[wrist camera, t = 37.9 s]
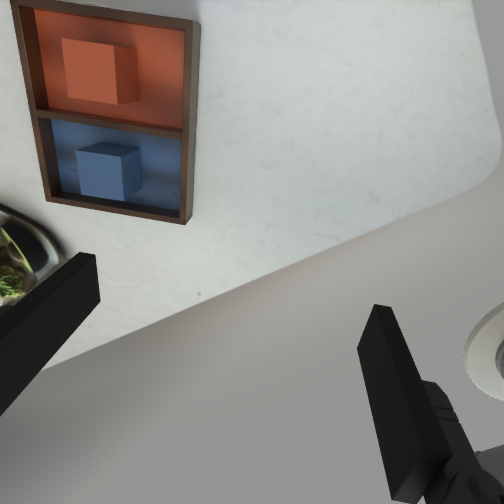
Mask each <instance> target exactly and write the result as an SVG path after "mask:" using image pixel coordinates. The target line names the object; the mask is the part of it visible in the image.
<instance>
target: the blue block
mask: <svg viewBox="0 0 504 504" xmlns="http://www.w3.org/2000/svg"><path fill="white" fill-rule="evenodd" d="M75 152H76V159H77V166H78V173H79V180H80V188H81V194H82V195H87V196H93V197H100V198H106V199H113V200H119V201H125V200H126V199H128V198H129V197H130V196H132V195H133V194H135V193H136V192H137V191H139V190H140V189H142V180H141V158H140V148H137V147H130V146H124V145H117V144H110V143H103V142H98V143H95V144H92V145H89V146H86V147H83V148H80V149H77V150H75Z"/></svg>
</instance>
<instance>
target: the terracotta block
mask: <svg viewBox="0 0 504 504" xmlns="http://www.w3.org/2000/svg"><path fill="white" fill-rule="evenodd" d="M61 42H62V50H63V58H64V66H65V74H66V82H67V90H68V97H71V98H77V99H83V100H89V101H96V102H102V103H108V104H115V105H119V104H126V103H132V102H138V73H137V50H136V49H132V48H126V47H121V46H115V45H109V44H102V43H96V42H89V41H82V40H76V39H69V38H63V37H61Z"/></svg>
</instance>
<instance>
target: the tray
mask: <svg viewBox="0 0 504 504" xmlns="http://www.w3.org/2000/svg"><path fill="white" fill-rule="evenodd" d="M10 4H11V10H12V15H13V21H14V27H15V32H16V38H17V43H18V49H19V54H20V60H21V65H22V71H23V76H24V82H25V87H26V93H27V98H28V104H29V110H30V115H31V121H32V126H33V132H34V137H35V143H36V148H37V154H38V159H39V165H40V170H41V176H42V181H43V187H44V193H45V198H46V201H47V202H53V203H59V204H65V205H71V206H76V207H82V208H88V209H94V210H100V211H106V212H111V213H117V214H123V215H129V216H135V217H141V218H146V219H152V220H158V221H164V222H170V223H176V224H181V225H186V224H187V222H188V221H189V220H190V218H191V217H192V206H193V185H194V164H195V143H196V122H197V100H198V79H199V58H200V37H201V25H200V24H198V23H196V22H194V21H192V20H185V19H178V18H172V17H165V16H158V15H151V14H144V13H137V12H131V11H124V10H117V9H110V8H103V7H97V6H90V5H83V4H76V3H69V2H62V1H56V0H10ZM61 37H63V38H69V39H76V40H82V41H89V42H96V43H102V44H109V45H115V46H121V47H126V48H132V49H136V50H137V73H138V102H132V103H126V104H119V105H115V104H108V103H102V102H96V101H89V100H83V99H77V98H71V97H68V90H67V82H66V74H65V66H64V58H63V50H62V42H61ZM98 142H103V143H110V144H117V145H124V146H130V147H137V148H140V158H141V180H142V189H140V190H139V191H137V192H136V193H135V194H133V195H132V196H130V197H129V198H128V199H126V200H125V201H119V200H113V199H106V198H100V197H93V196H87V195H82V194H81V188H80V180H79V173H78V166H77V159H76V152H75V150H77V149H80V148H83V147H86V146H89V145H92V144H95V143H98Z"/></svg>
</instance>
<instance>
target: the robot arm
mask: <svg viewBox="0 0 504 504" xmlns="http://www.w3.org/2000/svg"><path fill="white" fill-rule="evenodd" d="M99 303H100V292H99V283H98V274H97V266H96V257H95V255H94V254H89V253H83V252H79V253H78V254H76V255H75V256H74V257H73V258H71V259H70V260H69V261H68V262H66V263H65V264H64V265H63V266H61V267H60V268H59V269H58V270H57V271H55V272H54V273H53V274H52V275H50V276H49V277H48V278H47V279H45V280H44V281H43V282H42V283H40V284H39V285H38V286H37V287H35V288H34V289H33V290H32V291H31V292H29V293H28V294H27V295H26V296H24V297H23V298H22V299H21V300H19V301H18V302H17V303H16V304H14V305H9V304H6V305H3V306H1V307H0V416H1V415H2V414H3V413H4V412H5V411H6V409H7V408H8V407H9V406H10V405H11V403H12V402H13V401H14V400H15V399H16V398H17V397H18V395H19V394H20V393H21V392H22V391H23V390H24V389H25V387H26V386H27V385H28V384H29V383H30V382H31V381H32V379H33V378H34V377H35V376H36V375H37V374H38V373H39V371H40V370H41V369H42V368H43V367H44V366H45V365H46V363H47V362H48V361H49V360H50V359H51V358H52V357H53V355H54V354H55V353H56V352H57V351H58V350H59V349H60V347H61V346H62V345H63V344H64V343H65V342H66V340H67V339H68V338H69V337H70V336H71V335H72V334H73V332H74V331H75V330H76V329H77V328H78V327H79V326H80V324H81V323H82V322H83V321H84V320H85V319H86V318H87V316H88V315H89V314H90V313H91V312H92V311H93V309H94V308H95V307H96V306H97V305H98V304H99ZM357 351H358V355H359V359H360V364H361V368H362V372H363V377H364V381H365V386H366V390H367V394H368V399H369V403H370V407H371V412H372V416H373V421H374V425H375V429H376V434H377V438H378V442H379V447H380V451H381V455H382V460H383V464H384V469H385V473H386V477H387V482H388V486H389V490H390V495H391V499H392V500H394V501H399V502H405V503H409V504H417V503H418V501H419V500H420V499H421V497H422V496H424V499H425V502H426V504H504V445H501V446H498V447H494V448H491V449H488V450H485V451H482V452H481V451H476V452H474V451H473V449H472V447H471V445H470V443H469V441H468V439H467V436H466V434H465V432H464V430H463V428H462V426H461V424H460V423H459V420H458V418H457V416H456V413H455V412H454V411H453V407H452V405H451V403H450V401H449V399H448V397H447V395H446V394H445V393H444V392H443V391H442V389H441V388H440V387H439V386H438V385H437V384H436V383H434V382H429V381H423V380H421V377H420V375H419V372H418V370H417V368H416V366H415V363H414V361H413V358H412V356H411V353H410V351H409V349H408V346H407V344H406V341H405V339H404V337H403V335H402V332H401V329H400V327H399V325H398V322H397V320H396V318H395V315H394V313H393V311H392V308H391V307H388V306H382V305H377V304H374V306H373V309H372V311H371V314H370V317H369V319H368V321H367V324H366V326H365V329H364V332H363V334H362V337H361V339H360V342H359V345H358V347H357ZM495 364H496V368H497V370H498V372H499V374H500V375H501V376H502V378H503V379H504V340H503V341H502V343H501V344H500V346H499V348H498V350H497V353H496V357H495Z"/></svg>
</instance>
